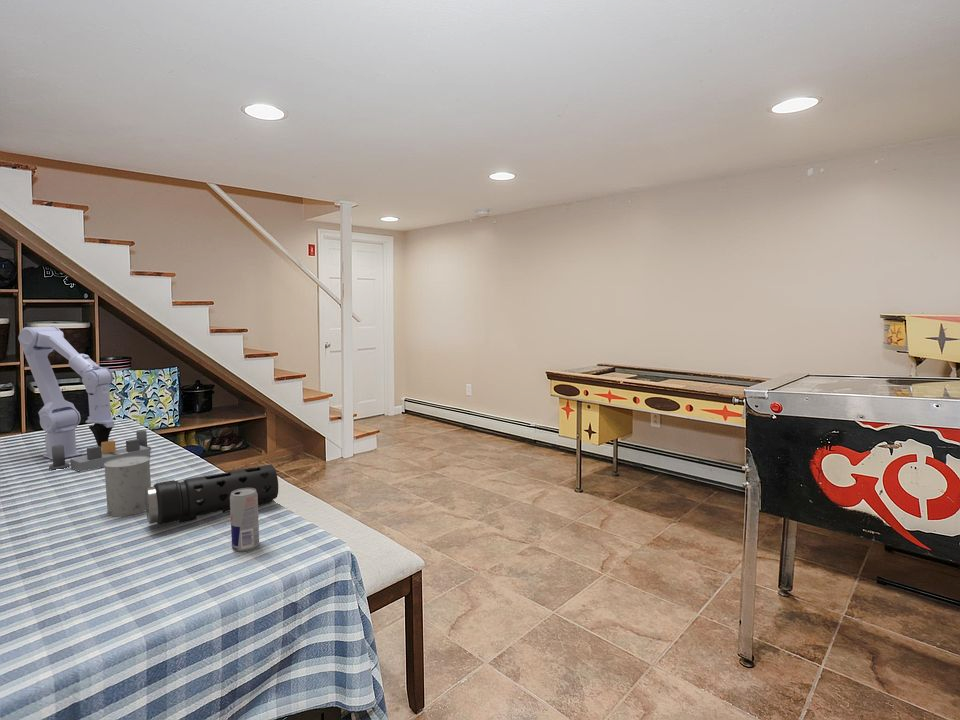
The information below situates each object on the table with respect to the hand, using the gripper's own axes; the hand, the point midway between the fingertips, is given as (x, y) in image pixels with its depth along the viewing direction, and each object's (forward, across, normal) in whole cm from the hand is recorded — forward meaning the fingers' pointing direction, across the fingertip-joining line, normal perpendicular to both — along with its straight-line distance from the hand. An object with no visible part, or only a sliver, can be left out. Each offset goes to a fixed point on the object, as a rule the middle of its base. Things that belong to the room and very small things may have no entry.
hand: (102, 446), depth 174 cm
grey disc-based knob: (+4, 0, -12) cm, 13 cm away
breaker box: (+4, +7, 0) cm, 8 cm away
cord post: (+4, 0, +12) cm, 13 cm away
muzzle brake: (+5, +75, -5) cm, 75 cm away
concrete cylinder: (+5, +54, -15) cm, 56 cm away
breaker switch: (+1, +5, 0) cm, 5 cm away
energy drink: (+5, +97, -11) cm, 98 cm away
